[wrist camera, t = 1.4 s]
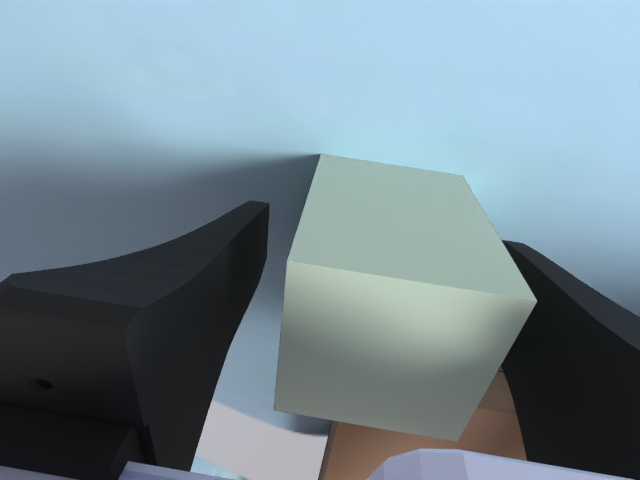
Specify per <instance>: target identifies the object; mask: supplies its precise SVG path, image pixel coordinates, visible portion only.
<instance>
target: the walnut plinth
mask: <svg viewBox="0 0 640 480" xmlns="http://www.w3.org/2000/svg"><path fill="white" fill-rule="evenodd" d="M417 449H459V450H465V451H471V452H476V453H482V454H488V455H494V456H500V457H506V458H512V459H517V460H523V461H527V458H526V453H525V449H524V444H523V439H522V435H521V430H520V426H519V422H518V418H517V414H516V410H515V406H514V402H513V398H512V395H511V392H510V389H509V386H508V383H507V380H506V377H505V375H504V372H499V371H497V373H496V375H495V376H494V378H493V380H492V382H491V384H490V385H489V387H488V389H487V391H486V392H485V394H484V396H483V398H482V399H481V401H480V403H479V405H478V406H477V408H476V410H475V412H474V413H473V415H472V417H471V419H470V420H469V422H468V424H467V426H466V428H465V429H464V431H463V433H462V435H461V436H460V438H459V440H458V442H456V441H450V440H444V439H438V438H432V437H427V436H421V435H415V434H409V433H403V432H397V431H392V430H386V429H380V428H374V427H368V426H362V425H357V424H351V423H345V422H339V421H333V420H332V422H331V426H330V431H329V435H328V439H327V443H326V448H325V452H324V456H323V460H322V465H321V469H320V473H319V477H318V480H367V479H368V478H369V477H370V476H371V475H372V474H373V473H374V471H375V470H376V469H377V468H378V467H379V466H380V465H381V464H382V463H383V462H385V461H386V460H387V459H388V458H390V457H393V456H397V455H400V454H403V453H407V452H410V451H413V450H417Z"/></svg>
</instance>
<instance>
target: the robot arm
mask: <svg viewBox="0 0 640 480" xmlns="http://www.w3.org/2000/svg"><path fill="white" fill-rule="evenodd" d="M268 221H269V203H263V202H256V201H248V202H246V203H244V204H242V205H241V206H239V207H237V208H235V209H234V210H232V211H230V212H229V213H227V214H225V215H223V216H221V217H220V218H218V219H216V220H214V221H212V222H211V223H208V224H206V225H204V226H202V227H200V228H198V229H196V230H194V231H192V232H190V233H188V234H186V235H184V236H181V237H179V238H176V239H174V240H171V241H169V242H166V243H163V244H161V245H158V246H155V247H152V248H149V249H145V250H142V251H138V252H135V253H131V254H127V255H124V256H120V257H116V258H112V259H108V260H103V261H98V262H93V263H88V264H83V265H77V266H71V267H65V268H57V269H49V270H41V271H33V272H25V273H15V274H11V275H10V276H9V277H7V278H6V279H5V280H3V281H2V282H1V283H0V480H233V479H227V478H221V477H216V476H210V475H204V474H199V473H193V472H190V470H191V466H192V463H193V459H194V456H195V453H196V449H197V446H198V442H199V439H200V436H201V433H202V429H203V426H204V423H205V419H206V416H207V413H208V410H209V407H210V403H211V401H212V397H213V394H214V391H215V388H216V385H217V382H218V379H219V376H220V373H221V370H222V367H223V364H224V361H225V358H226V355H227V352H228V350H229V347H230V345H231V342H232V340H233V337H234V335H235V333H236V331H237V329H238V327H239V325H240V323H241V320H242V318H243V316H244V314H245V312H246V310H247V308H248V306H249V303H250V301H251V299H252V297H253V295H254V293H255V290H256V288H257V286H258V284H259V281H260V278H261V275H262V271H263V268H264V265H265V261H266V258H267V239H268ZM502 242H503V244H504V246H505V247H506V249H507V251H508V252H509V254H510V256H511V257H512V259H513V261H514V262H515V264H516V266H517V268H518V269H519V271H520V273H521V274H522V276H523V278H524V279H525V281H526V283H527V284H528V286H529V288H530V289H531V291H532V293H533V294H534V296H535V298H536V299H537V303H536V304H535V306H534V308H533V310H532V311H531V313H530V315H529V317H528V318H527V320H526V322H525V324H524V325H523V327H522V329H521V331H520V332H519V334H518V336H517V338H516V339H515V341H514V343H513V345H512V347H511V348H510V350H509V352H508V354H507V355H506V357H505V359H504V361H503V362H502V364H501V367H502V369H503V372H504V375H505V377H506V380H507V383H508V386H509V389H510V392H511V395H512V398H513V402H514V406H515V410H516V414H517V418H518V422H519V426H520V430H521V435H522V439H523V444H524V449H525V453H526V458H527V461H523V460H517V459H512V458H506V457H500V456H494V455H488V454H482V453H476V452H471V451H465V450H459V449H417V450H413V451H410V452H407V453H403V454H400V455H397V456H393V457H390V458H388V459H387V460H386V461H385V462H383V463H382V464H381V465H380V466H379V467H378V468H377V469H376V470H375V471H374V473H373V474H372V475H371V476H370V477H369V478H368V479H367V480H640V317H638V316H637V315H635V314H633V313H631V312H630V311H628V310H626V309H624V308H623V307H621V306H619V305H618V304H616V303H615V302H613V301H611V300H610V299H608V298H607V297H605V296H603V295H602V294H600V293H599V292H597V291H595V290H594V289H592V288H591V287H589V286H588V285H586V284H585V283H583V282H582V281H580V280H579V279H577V278H576V277H574V276H573V275H571V274H570V273H569V272H567V271H566V270H564V269H563V268H561V267H560V266H558V265H557V264H555V263H554V262H552V261H551V260H549V259H548V258H546V257H545V256H543V255H542V254H540V253H539V252H537V251H536V250H534V249H532V248H531V247H529V246H527V245H525V244H523V243H518V242H511V241H505V240H502Z"/></svg>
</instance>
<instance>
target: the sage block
mask: <svg viewBox="0 0 640 480" xmlns="http://www.w3.org/2000/svg"><path fill="white" fill-rule="evenodd" d="M536 303H537V299H536V298H535V296H534V294H533V293H532V291H531V289H530V288H529V286H528V284H527V283H526V281H525V279H524V278H523V276H522V274H521V273H520V271H519V269H518V268H517V266H516V264H515V262H514V261H513V259H512V257H511V256H510V254H509V252H508V251H507V249H506V247H505V246H504V244H503V242H502V241H501V239H500V237H499V236H498V234H497V232H496V231H495V229H494V227H493V225H492V224H491V222H490V220H489V219H488V217H487V215H486V214H485V212H484V210H483V209H482V207H481V205H480V204H479V202H478V200H477V199H476V197H475V195H474V194H473V192H472V190H471V188H470V187H469V185H468V183H467V182H466V180H465V178H464V177H463V176H462V175H456V174H449V173H443V172H436V171H429V170H423V169H416V168H410V167H403V166H397V165H390V164H384V163H377V162H371V161H364V160H358V159H351V158H345V157H338V156H331V155H325V154H321V155H320V159H319V162H318V165H317V168H316V171H315V174H314V177H313V181H312V184H311V187H310V190H309V193H308V196H307V200H306V203H305V206H304V209H303V212H302V215H301V219H300V222H299V225H298V228H297V231H296V234H295V238H294V241H293V244H292V247H291V250H290V253H289V257H288V260H287V268H286V279H285V290H284V301H283V312H282V323H281V334H280V346H279V357H278V368H277V379H276V390H275V401H274V410H275V411H281V412H286V413H292V414H298V415H304V416H310V417H316V418H321V419H327V420H333V421H339V422H345V423H351V424H357V425H362V426H368V427H374V428H380V429H386V430H392V431H397V432H403V433H409V434H415V435H421V436H427V437H432V438H438V439H444V440H450V441H456V442H458V440H459V438H460V436H461V435H462V433H463V431H464V429H465V428H466V426H467V424H468V422H469V420H470V419H471V417H472V415H473V413H474V412H475V410H476V408H477V406H478V405H479V403H480V401H481V399H482V398H483V396H484V394H485V392H486V391H487V389H488V387H489V385H490V384H491V382H492V380H493V378H494V376H495V375H496V373H497V371H498V369H499V368H500V366H501V364H502V362H503V361H504V359H505V357H506V355H507V354H508V352H509V350H510V348H511V347H512V345H513V343H514V341H515V339H516V338H517V336H518V334H519V332H520V331H521V329H522V327H523V325H524V324H525V322H526V320H527V318H528V317H529V315H530V313H531V311H532V310H533V308H534V306H535V304H536Z"/></svg>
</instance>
